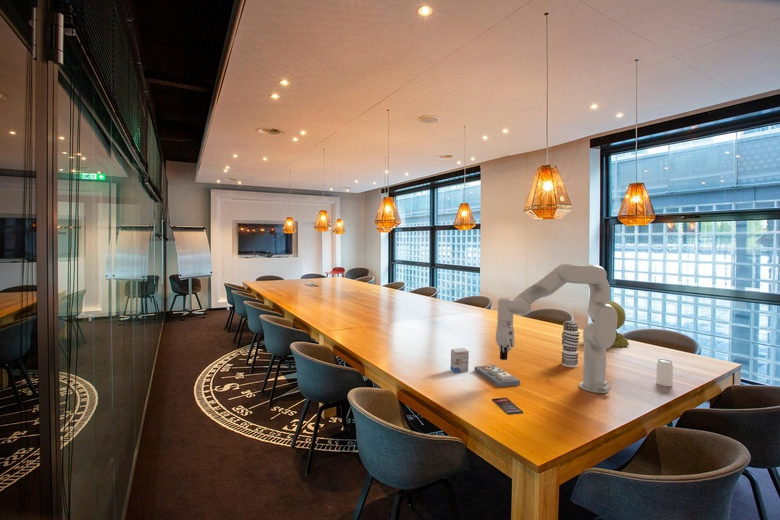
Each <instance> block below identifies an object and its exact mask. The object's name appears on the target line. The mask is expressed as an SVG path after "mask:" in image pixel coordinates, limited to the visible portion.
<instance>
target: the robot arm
mask: <svg viewBox="0 0 780 520" xmlns="http://www.w3.org/2000/svg"><path fill="white" fill-rule="evenodd" d="M607 275H608V273H607V271H606V270H605V268H604V267H602V266H600V265H595V264H589V263H587V264H584V265H581V264H580V265H579V264H578V265H577V264H570V263H561V264H559V265H557V266H556V267H555V268H554V269H552V270H551V271H550V272H549V273H548V274H546V275H545V276H544V277H542V278H541V279H540V280H539V281H537V282H535V283H534V284H532V285H531V286H528V288H526V289H524V290H523V291H522V292H521V293H519V294H518V295H516V296H515V298H514V299H513V298H509V297H499V299H498V301H497V317H496V318H497V321H496V323H497V324H496V331H495V343H496V345H497V346H498V349H499V359H500V360H501V361H507V360H508V353H509V351H512V348H514V347H515V329H514V315H520V316H526V315H529V313H530V312H532V304H533V303H534V302H537V301H538V300H540V299H542V298H545V297H549V296H551V295H553V294H554V293H555V292H557V291H558V290H559V289H560V288H562V287H563V286H565V284H567V283H568V284H579V285H580V284H581V285H582V284H583V285H588V287H589V297H588V298H589V300H588V307H587V315H588V317H589V318H590V319H591V318H592V319H593V320H594V323H593V322H591V323H587V324H586V325H585V326H584V327H583V331H582V337H583V338H582V339H583V366H582V367H583V368H582V370H583V371H582V375H583V376H582V381H581V382H579V383H578V384H579V385H578V386H579V388H580V389H582V390H584V391H586V392H590V393H596V394H606V393H609V391H611V390H612V387H611V386H608V381H606V380H607V379H606V375H607V374H606V372H607V349H609V348H612V347H611V346H612V345H613V343H614V341H615V337H616V331H617V330H618V329H617V320H618V316H617V312H616V310H615V309H614V307H612V306H611V305H610V301H611V287H610V286H611V285H610V283H609V281H608V279H607V277H608V276H607ZM616 329H617V330H616Z"/></svg>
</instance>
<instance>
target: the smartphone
mask: <svg viewBox="0 0 780 520" xmlns="http://www.w3.org/2000/svg"><path fill="white" fill-rule="evenodd" d="M491 401H492V402H493V403H495V404H496V405H497V407H499V408H500V409H501V410H502V411H503V412H504V413H505V414H506V415H508V416H509V415H510V416H511V415H520V414H521V415H523V414H524V411H523V410H522V409H521V408H519V407H518V406H517V405H516V404H515V403H513V402H512V400H510V399H509V398H508V397H499V398H498V397H496V398H492V399H491Z"/></svg>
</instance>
